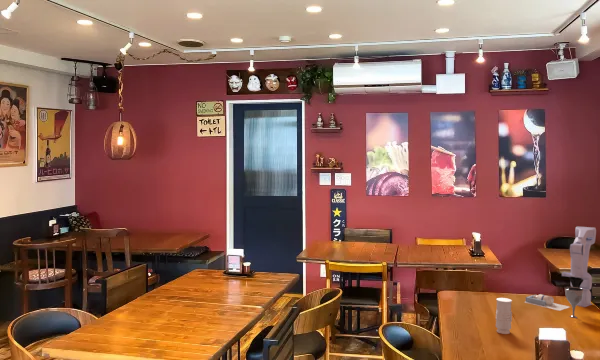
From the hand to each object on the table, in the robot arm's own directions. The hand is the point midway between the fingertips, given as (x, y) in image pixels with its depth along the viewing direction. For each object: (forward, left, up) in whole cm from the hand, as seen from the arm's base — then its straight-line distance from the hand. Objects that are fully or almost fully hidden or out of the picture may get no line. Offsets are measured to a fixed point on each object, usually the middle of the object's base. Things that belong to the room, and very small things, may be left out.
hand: (576, 291), depth 272 cm
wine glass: (+13, +5, -11) cm, 17 cm away
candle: (+61, -4, -11) cm, 62 cm away
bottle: (+1, -12, -8) cm, 15 cm away
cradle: (+2, -15, -10) cm, 18 cm away
